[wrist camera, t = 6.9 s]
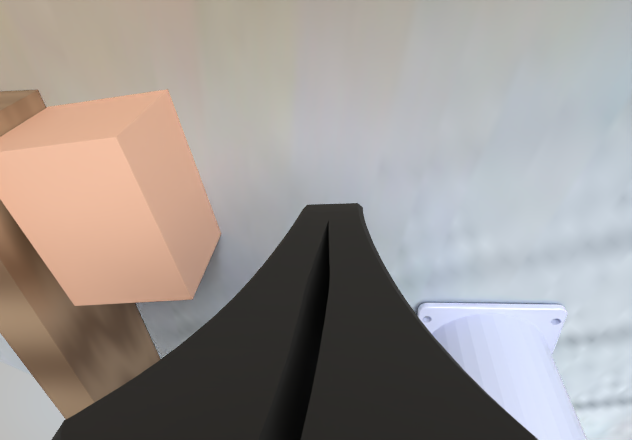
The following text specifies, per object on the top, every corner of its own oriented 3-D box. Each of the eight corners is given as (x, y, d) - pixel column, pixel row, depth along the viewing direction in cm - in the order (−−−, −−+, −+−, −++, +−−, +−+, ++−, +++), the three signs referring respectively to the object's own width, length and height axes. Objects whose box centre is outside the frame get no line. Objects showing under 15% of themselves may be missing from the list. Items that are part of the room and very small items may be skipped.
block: (221, 232, 23) (192, 299, 19) (122, 240, 25) (74, 305, 20) (169, 88, 19) (116, 137, 15) (49, 105, 20) (-31, 155, 16)
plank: (177, 397, 33) (145, 480, 28) (146, 395, 34) (110, 478, 29) (37, 89, 19) (-72, 150, 15) (-13, 92, 20) (-137, 152, 15)
